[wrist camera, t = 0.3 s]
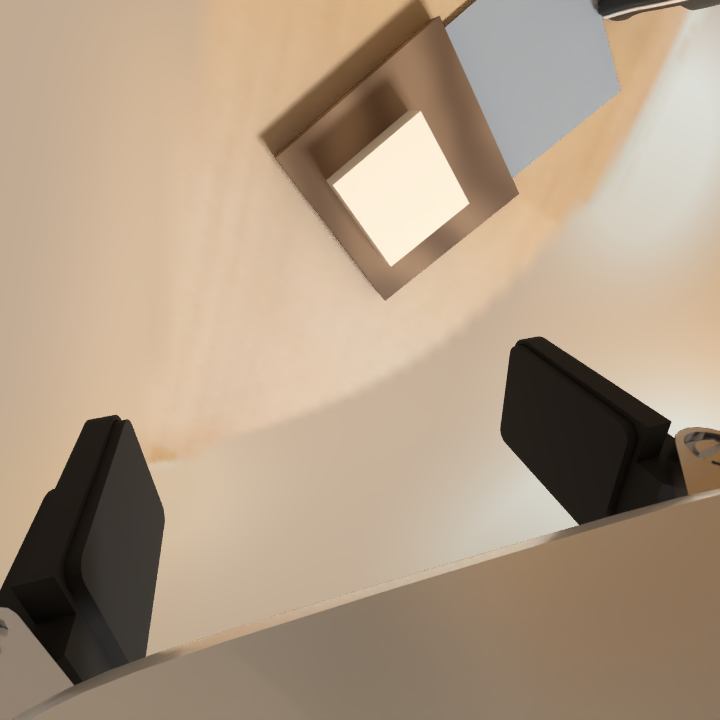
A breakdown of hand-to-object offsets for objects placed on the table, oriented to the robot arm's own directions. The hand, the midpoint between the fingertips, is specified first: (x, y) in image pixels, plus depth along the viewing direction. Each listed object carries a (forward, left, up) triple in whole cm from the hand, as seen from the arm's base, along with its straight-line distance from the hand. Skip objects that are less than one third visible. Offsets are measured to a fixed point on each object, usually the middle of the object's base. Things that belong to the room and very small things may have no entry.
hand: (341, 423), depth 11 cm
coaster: (-9, +5, -27) cm, 29 cm away
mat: (-24, +5, -29) cm, 38 cm away
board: (-11, +5, -29) cm, 31 cm away
